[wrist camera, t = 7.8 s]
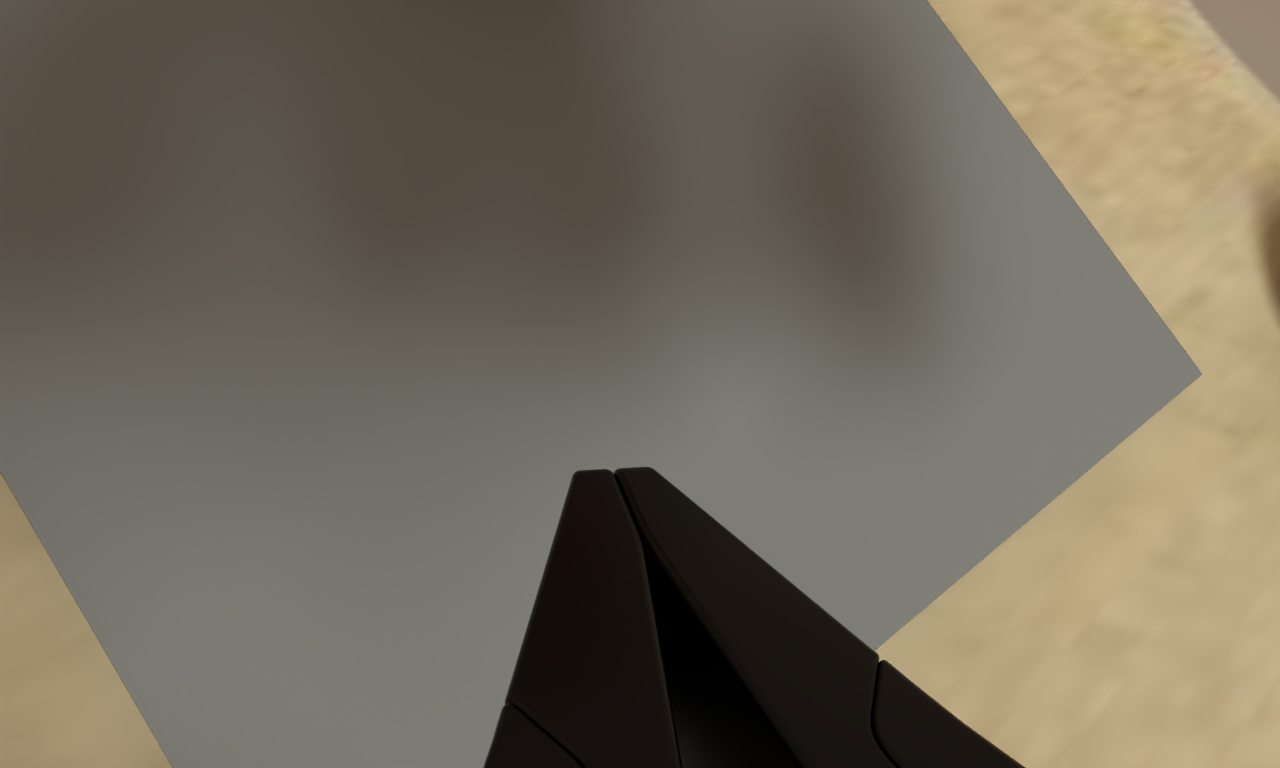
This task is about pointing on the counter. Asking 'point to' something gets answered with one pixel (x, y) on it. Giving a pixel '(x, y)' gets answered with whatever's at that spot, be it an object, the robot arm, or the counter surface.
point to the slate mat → (516, 330)
